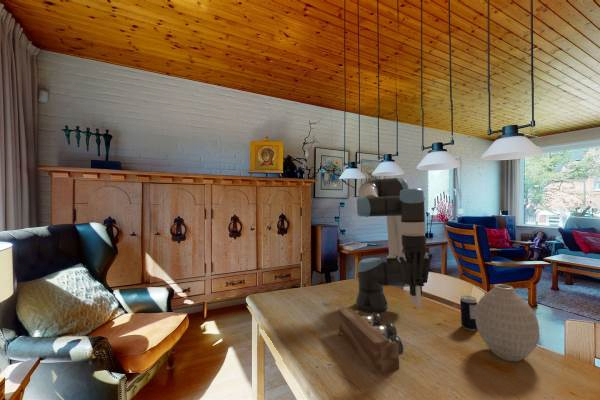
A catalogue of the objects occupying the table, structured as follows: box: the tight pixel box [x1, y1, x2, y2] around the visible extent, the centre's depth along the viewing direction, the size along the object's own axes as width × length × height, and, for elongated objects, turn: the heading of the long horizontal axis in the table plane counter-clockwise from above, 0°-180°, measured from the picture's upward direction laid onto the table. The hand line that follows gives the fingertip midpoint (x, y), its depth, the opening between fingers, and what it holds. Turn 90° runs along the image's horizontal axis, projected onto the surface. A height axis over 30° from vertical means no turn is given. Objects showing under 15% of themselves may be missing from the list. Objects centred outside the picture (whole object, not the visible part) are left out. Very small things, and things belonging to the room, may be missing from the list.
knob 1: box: [360, 312, 383, 326], centre depth 101 cm, size 9×6×6 cm, turn 105°
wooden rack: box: [338, 307, 400, 375], centre depth 90 cm, size 8×27×9 cm, turn 15°
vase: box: [475, 283, 540, 362], centre depth 84 cm, size 16×16×22 cm
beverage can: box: [459, 295, 478, 332], centre depth 102 cm, size 6×6×12 cm
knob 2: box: [373, 321, 398, 339], centre depth 92 cm, size 9×6×6 cm, turn 105°
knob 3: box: [388, 335, 404, 356], centre depth 82 cm, size 9×6×6 cm, turn 105°
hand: (416, 304), depth 86 cm, fingers closed
